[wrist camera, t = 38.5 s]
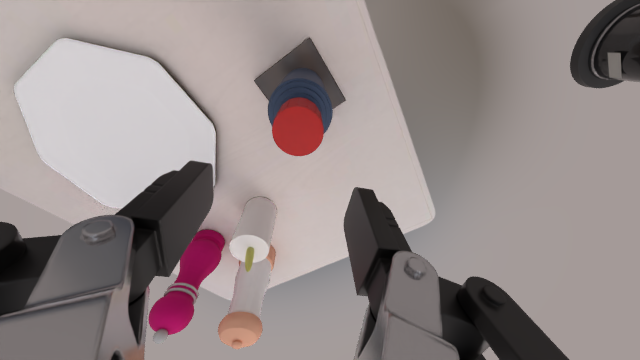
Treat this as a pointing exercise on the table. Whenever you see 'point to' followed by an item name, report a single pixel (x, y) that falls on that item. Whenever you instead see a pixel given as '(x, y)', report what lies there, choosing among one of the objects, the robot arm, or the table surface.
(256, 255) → the candle
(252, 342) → the pepper shaker
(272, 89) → the coaster
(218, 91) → the table surface
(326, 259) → the table surface
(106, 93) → the plate
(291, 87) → the bottle
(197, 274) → the pepper mill
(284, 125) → the cap
